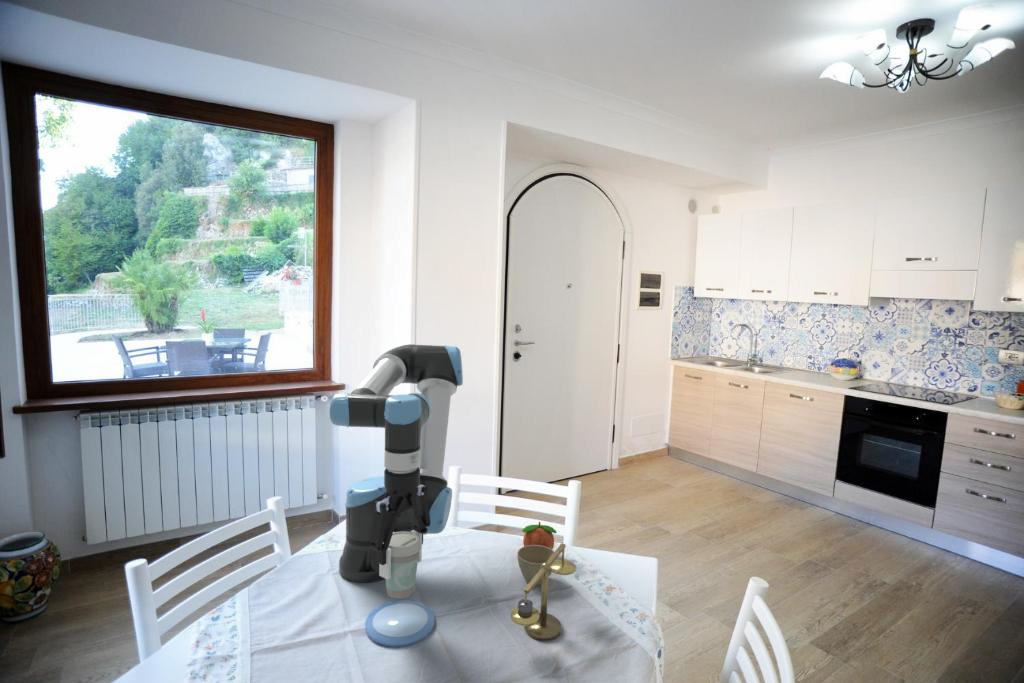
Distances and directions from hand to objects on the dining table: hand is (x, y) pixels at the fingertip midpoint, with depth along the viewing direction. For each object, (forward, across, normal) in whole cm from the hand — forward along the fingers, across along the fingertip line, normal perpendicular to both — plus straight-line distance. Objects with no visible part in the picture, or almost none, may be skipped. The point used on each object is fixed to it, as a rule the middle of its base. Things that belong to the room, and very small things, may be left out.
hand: (400, 568), depth 122 cm
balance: (+13, +18, -26) cm, 34 cm away
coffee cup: (+6, 0, 0) cm, 6 cm away
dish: (+13, 0, 0) cm, 13 cm away
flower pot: (+13, +34, -14) cm, 39 cm away
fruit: (+13, +45, -8) cm, 48 cm away
